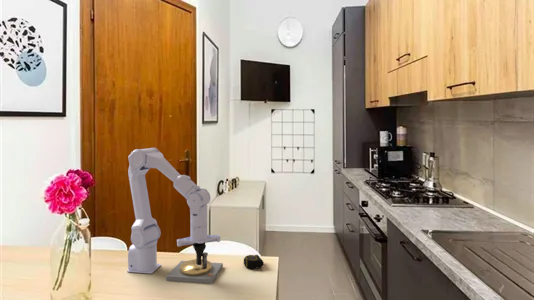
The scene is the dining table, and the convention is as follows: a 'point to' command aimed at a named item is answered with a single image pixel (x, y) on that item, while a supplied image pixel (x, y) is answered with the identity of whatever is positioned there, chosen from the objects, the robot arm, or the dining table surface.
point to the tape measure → (253, 262)
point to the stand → (205, 278)
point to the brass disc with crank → (196, 266)
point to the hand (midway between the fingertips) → (199, 264)
